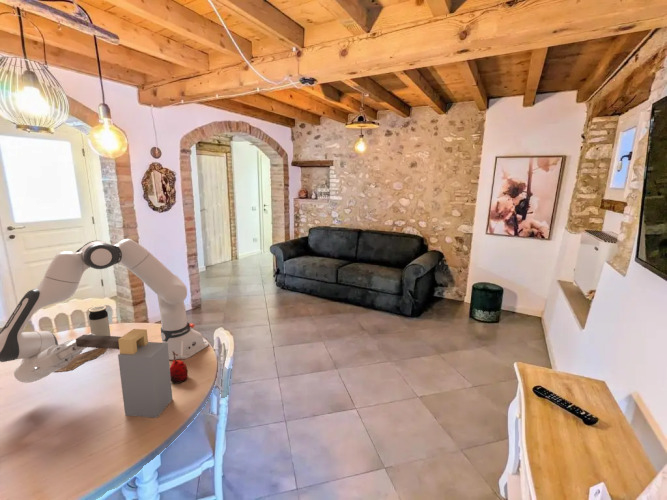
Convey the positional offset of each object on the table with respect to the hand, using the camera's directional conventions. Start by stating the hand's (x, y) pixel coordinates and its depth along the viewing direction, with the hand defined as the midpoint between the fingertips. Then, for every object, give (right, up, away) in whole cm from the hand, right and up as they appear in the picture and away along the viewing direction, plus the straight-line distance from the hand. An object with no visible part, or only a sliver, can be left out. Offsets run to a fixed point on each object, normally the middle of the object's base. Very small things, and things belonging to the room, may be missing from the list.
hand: (84, 342), depth 117 cm
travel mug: (-32, -14, +53) cm, 63 cm away
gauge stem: (+8, -1, 0) cm, 9 cm away
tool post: (+22, -26, +4) cm, 34 cm away
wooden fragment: (-28, -18, +36) cm, 49 cm away
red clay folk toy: (+25, -22, +21) cm, 39 cm away
